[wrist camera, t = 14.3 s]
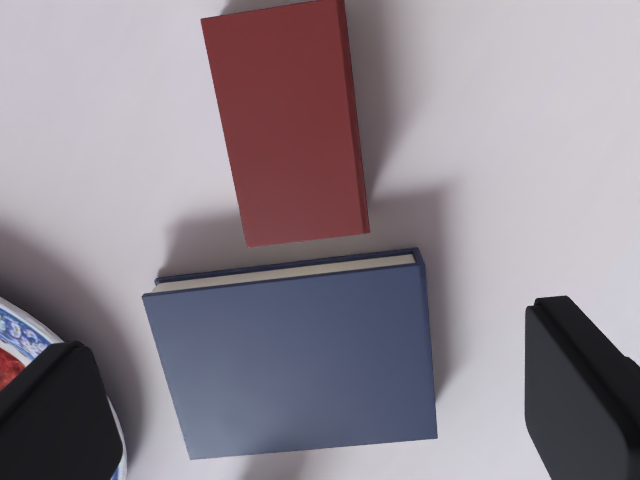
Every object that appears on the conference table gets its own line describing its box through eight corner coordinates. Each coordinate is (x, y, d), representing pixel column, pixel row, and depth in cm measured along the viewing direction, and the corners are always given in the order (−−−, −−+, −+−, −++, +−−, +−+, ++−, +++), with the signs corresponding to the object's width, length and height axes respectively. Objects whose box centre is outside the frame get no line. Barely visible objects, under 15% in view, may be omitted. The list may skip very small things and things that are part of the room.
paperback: (342, 3, 25) (343, -4, 21) (366, 212, 28) (370, 233, 25) (217, 23, 25) (199, 18, 22) (257, 225, 29) (247, 248, 26)
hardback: (418, 247, 29) (425, 264, 27) (430, 411, 33) (437, 438, 31) (156, 277, 30) (141, 296, 28) (199, 432, 35) (189, 460, 32)
